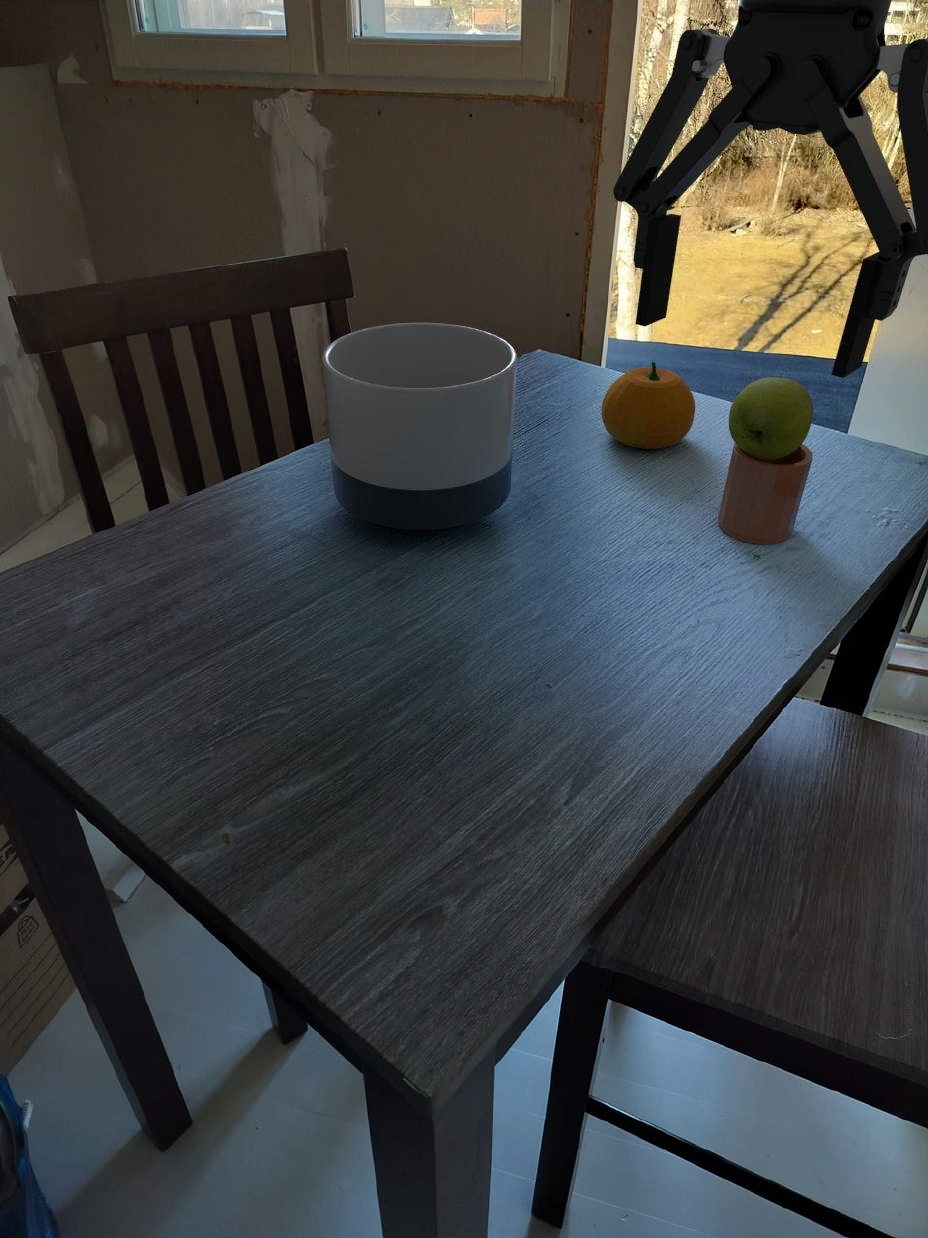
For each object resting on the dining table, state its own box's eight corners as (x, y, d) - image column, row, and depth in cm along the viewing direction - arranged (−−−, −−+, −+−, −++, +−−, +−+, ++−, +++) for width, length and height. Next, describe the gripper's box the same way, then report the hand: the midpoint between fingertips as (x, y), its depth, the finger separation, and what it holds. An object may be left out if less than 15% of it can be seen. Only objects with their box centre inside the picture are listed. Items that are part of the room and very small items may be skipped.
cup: (803, 524, 93) (825, 449, 88) (771, 552, 88) (792, 474, 83) (738, 501, 97) (755, 427, 92) (704, 526, 93) (720, 450, 87)
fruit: (580, 438, 110) (587, 362, 104) (631, 412, 117) (641, 340, 111) (657, 467, 104) (670, 388, 98) (706, 437, 111) (721, 362, 105)
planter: (525, 549, 88) (535, 384, 78) (338, 561, 86) (323, 394, 76) (493, 465, 104) (498, 318, 93) (334, 474, 101) (320, 324, 91)
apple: (716, 472, 88) (709, 399, 83) (754, 431, 93) (750, 361, 88) (791, 480, 83) (788, 404, 78) (827, 437, 88) (826, 363, 83)
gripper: (1141, -91, 37) (966, 377, 50) (653, -75, 51) (612, 292, 63) (1104, -103, 33) (922, 415, 46) (579, -82, 46) (551, 315, 59)
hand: (741, 344), depth 55 cm, fingers open, 13 cm apart
